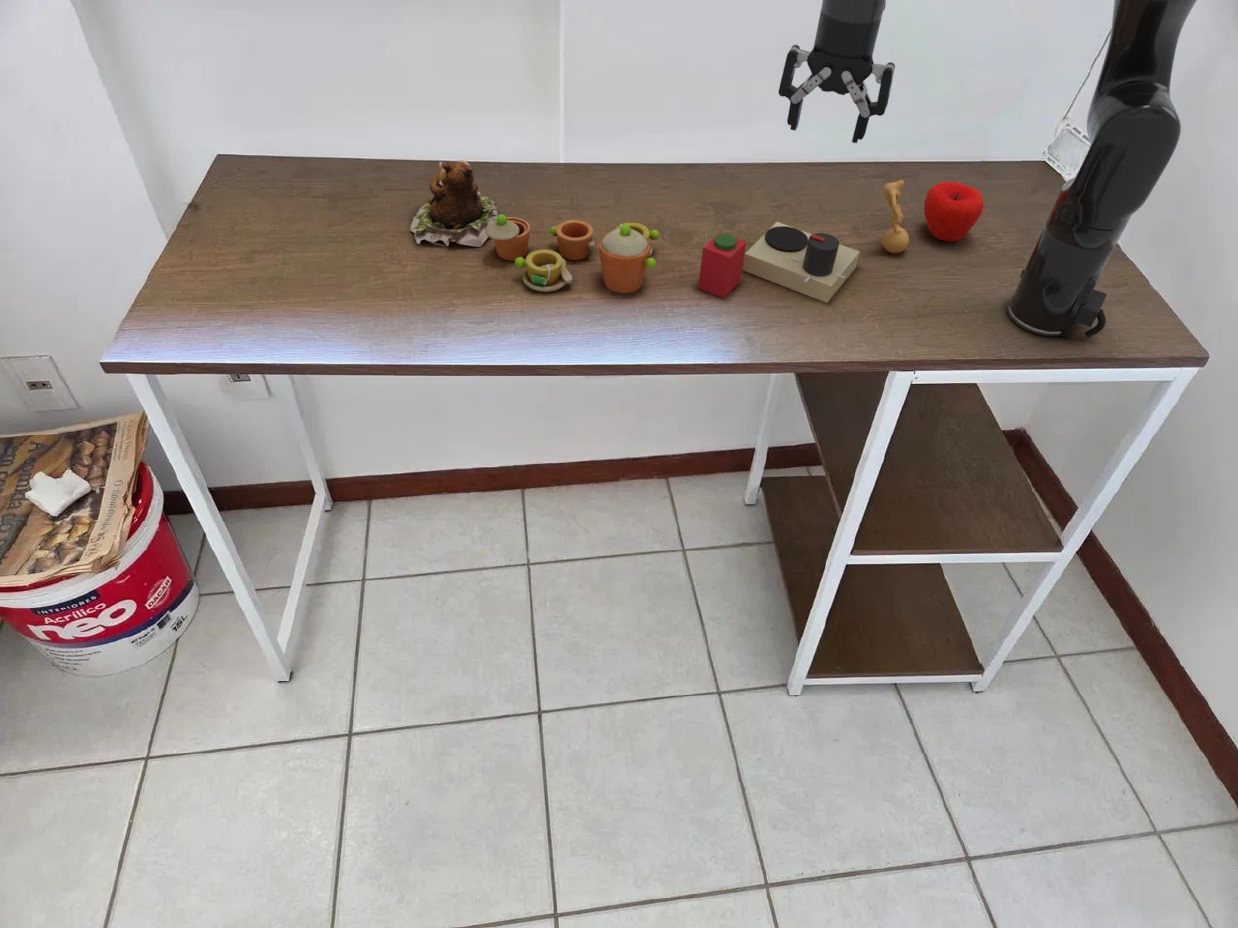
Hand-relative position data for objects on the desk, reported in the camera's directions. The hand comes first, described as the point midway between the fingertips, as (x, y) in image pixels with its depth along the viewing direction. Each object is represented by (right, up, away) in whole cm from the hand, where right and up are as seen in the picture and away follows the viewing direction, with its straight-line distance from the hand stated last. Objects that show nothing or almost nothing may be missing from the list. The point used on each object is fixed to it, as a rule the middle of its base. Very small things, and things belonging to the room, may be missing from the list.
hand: (824, 134), depth 120 cm
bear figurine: (-54, -7, +18) cm, 58 cm away
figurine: (+14, -12, +18) cm, 26 cm away
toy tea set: (-35, -16, +11) cm, 40 cm away
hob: (-1, -16, +13) cm, 21 cm away
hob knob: (+1, -16, +8) cm, 19 cm away
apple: (+24, -8, +22) cm, 34 cm away
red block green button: (-13, -19, +10) cm, 25 cm away
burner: (-3, -11, +13) cm, 18 cm away
